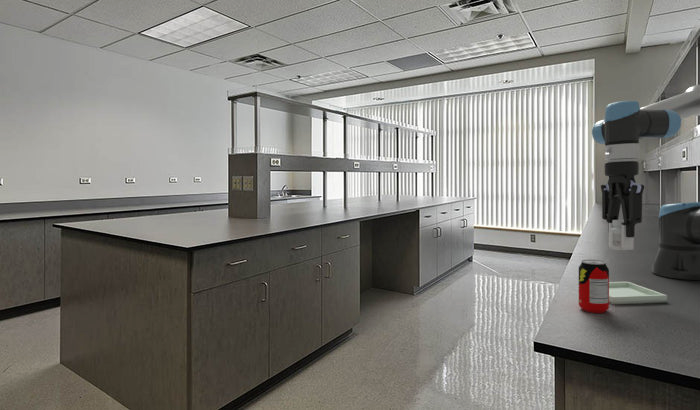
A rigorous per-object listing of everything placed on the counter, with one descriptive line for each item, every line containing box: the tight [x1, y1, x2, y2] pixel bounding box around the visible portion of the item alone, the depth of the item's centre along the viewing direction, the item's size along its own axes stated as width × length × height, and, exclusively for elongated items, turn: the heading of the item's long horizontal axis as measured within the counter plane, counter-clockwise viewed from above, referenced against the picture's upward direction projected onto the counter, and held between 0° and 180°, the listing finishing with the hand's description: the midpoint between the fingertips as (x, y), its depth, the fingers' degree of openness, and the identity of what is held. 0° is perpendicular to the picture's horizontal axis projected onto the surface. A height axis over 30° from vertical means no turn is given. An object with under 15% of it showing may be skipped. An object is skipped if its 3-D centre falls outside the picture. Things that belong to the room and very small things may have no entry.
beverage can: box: [578, 259, 610, 314], centre depth 97 cm, size 6×6×12 cm
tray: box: [609, 281, 668, 305], centre depth 108 cm, size 14×14×2 cm
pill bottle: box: [609, 219, 624, 251], centre depth 107 cm, size 4×4×8 cm
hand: (620, 247), depth 107 cm, fingers closed on pill bottle, 4 cm apart
